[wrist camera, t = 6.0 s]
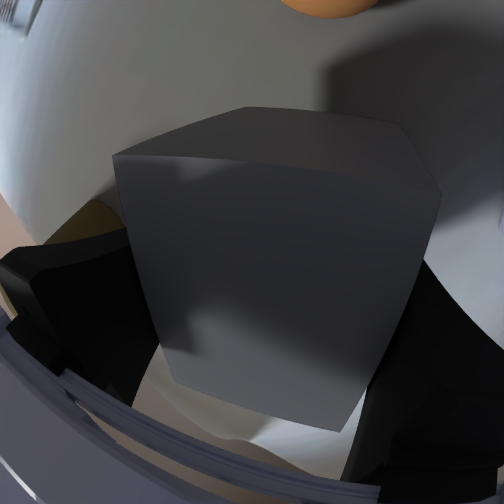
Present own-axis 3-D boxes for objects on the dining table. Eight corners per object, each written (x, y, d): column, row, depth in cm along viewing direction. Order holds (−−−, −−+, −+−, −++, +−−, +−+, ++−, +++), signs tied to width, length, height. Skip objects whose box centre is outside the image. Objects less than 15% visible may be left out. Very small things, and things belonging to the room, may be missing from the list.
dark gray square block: (398, 123, 9) (441, 194, 4) (364, 291, 14) (339, 432, 8) (246, 106, 11) (112, 155, 5) (248, 267, 16) (174, 381, 10)
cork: (140, 245, 23) (44, 338, 15) (111, 268, 27) (33, 345, 18) (97, 187, 22) (-12, 263, 13) (75, 219, 25) (-11, 287, 17)
